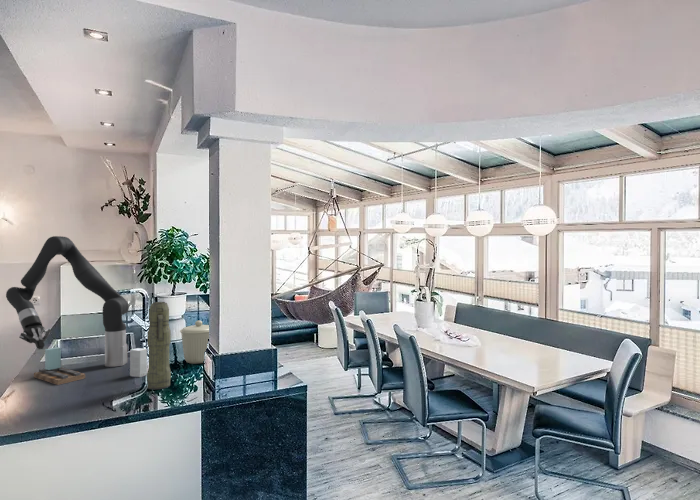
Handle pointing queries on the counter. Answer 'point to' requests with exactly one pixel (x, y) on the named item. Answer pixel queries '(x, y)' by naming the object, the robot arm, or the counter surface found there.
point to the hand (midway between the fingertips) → (41, 348)
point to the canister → (195, 342)
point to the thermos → (159, 346)
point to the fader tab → (53, 359)
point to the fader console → (59, 375)
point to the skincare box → (138, 362)
